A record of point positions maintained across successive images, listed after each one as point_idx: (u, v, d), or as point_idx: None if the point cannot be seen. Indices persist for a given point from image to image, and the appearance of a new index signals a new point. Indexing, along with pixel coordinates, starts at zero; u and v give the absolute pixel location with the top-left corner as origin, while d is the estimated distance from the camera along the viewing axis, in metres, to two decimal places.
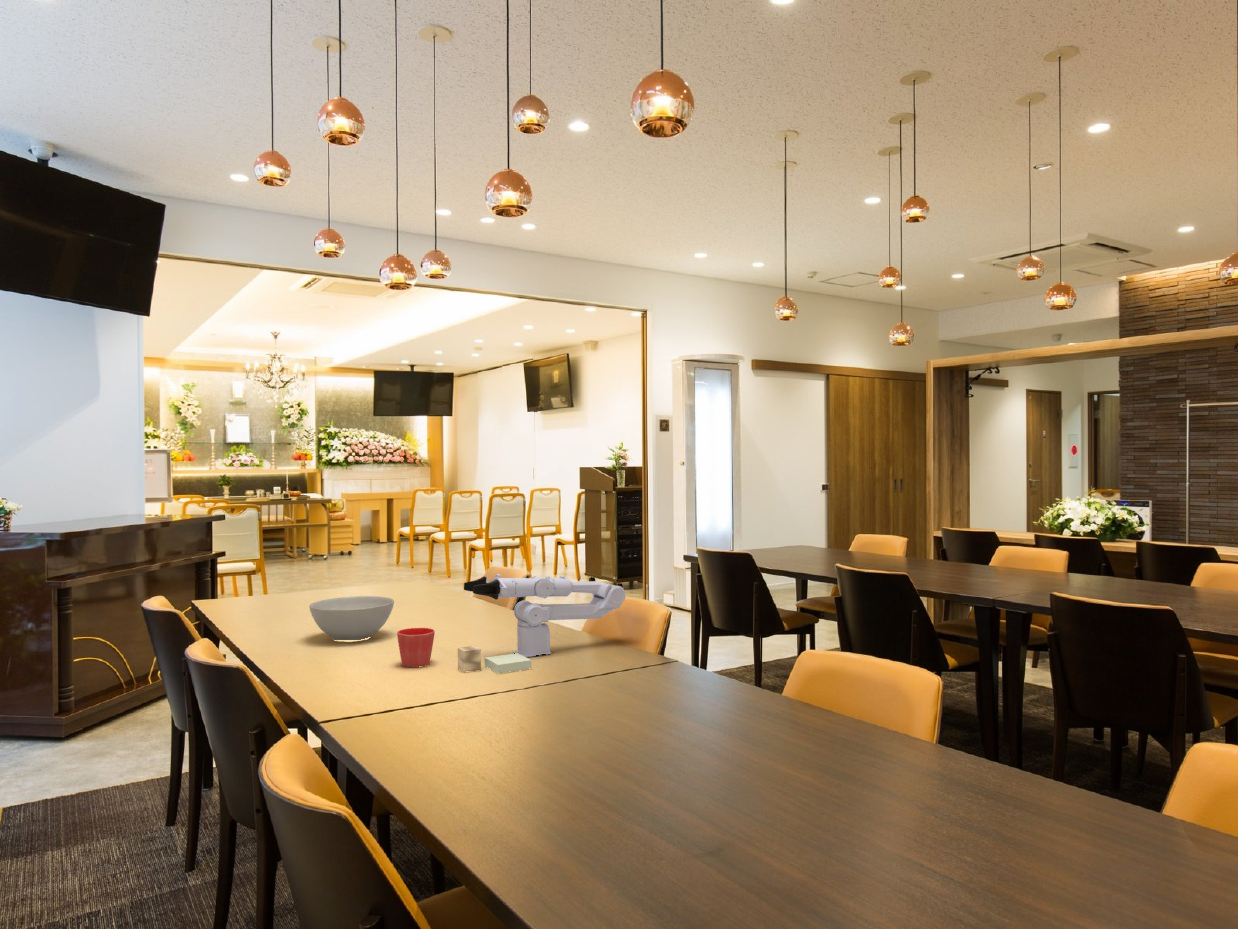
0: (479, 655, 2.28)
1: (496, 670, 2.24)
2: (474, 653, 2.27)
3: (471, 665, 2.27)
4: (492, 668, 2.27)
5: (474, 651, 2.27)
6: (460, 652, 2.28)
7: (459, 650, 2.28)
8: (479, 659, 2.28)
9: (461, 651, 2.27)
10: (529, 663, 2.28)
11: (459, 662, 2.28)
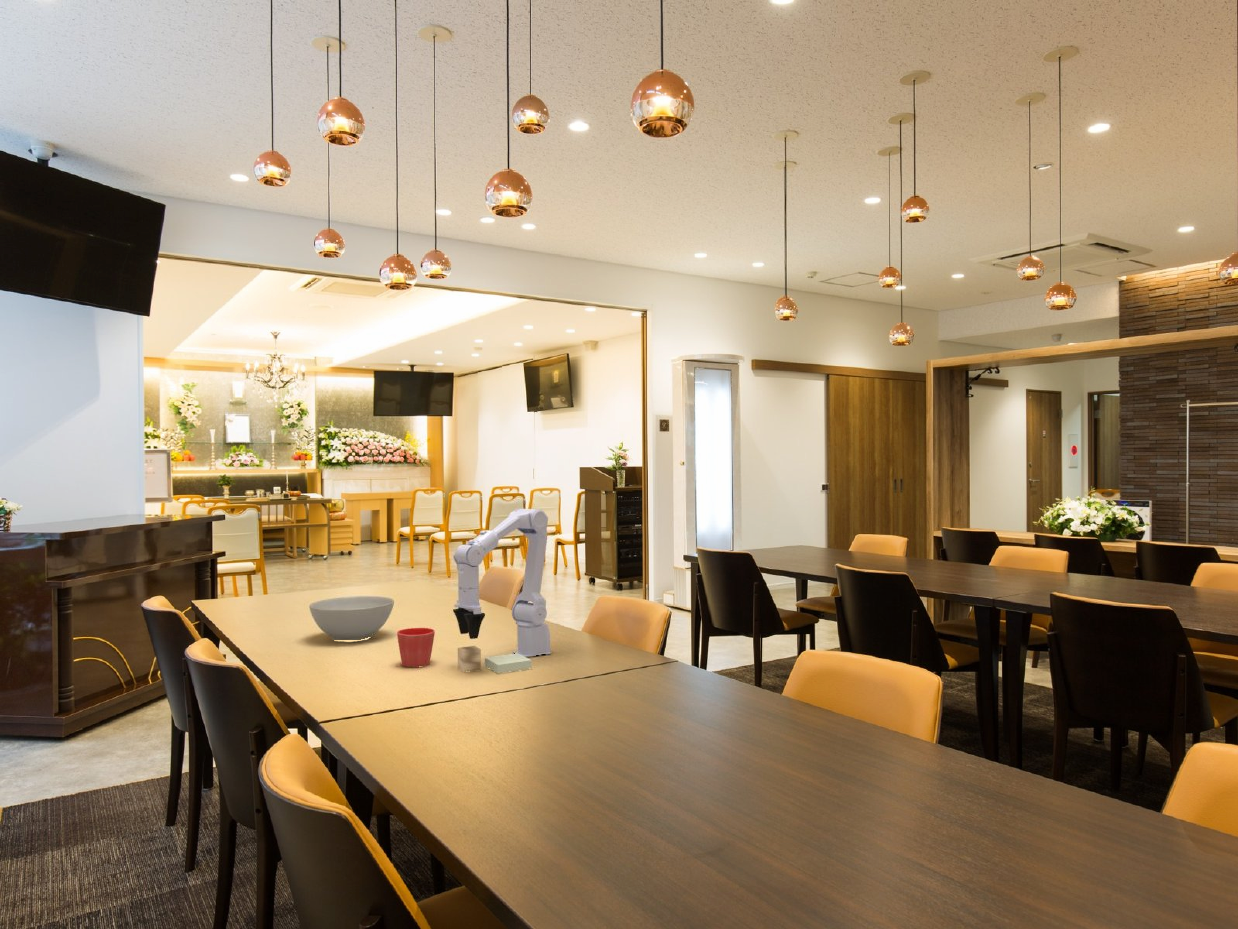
0: (479, 655, 2.28)
1: (496, 670, 2.24)
2: (474, 653, 2.27)
3: (471, 665, 2.27)
4: (492, 668, 2.27)
5: (474, 651, 2.27)
6: (460, 652, 2.28)
7: (459, 650, 2.28)
8: (479, 659, 2.28)
9: (461, 651, 2.27)
10: (529, 663, 2.28)
11: (459, 662, 2.28)
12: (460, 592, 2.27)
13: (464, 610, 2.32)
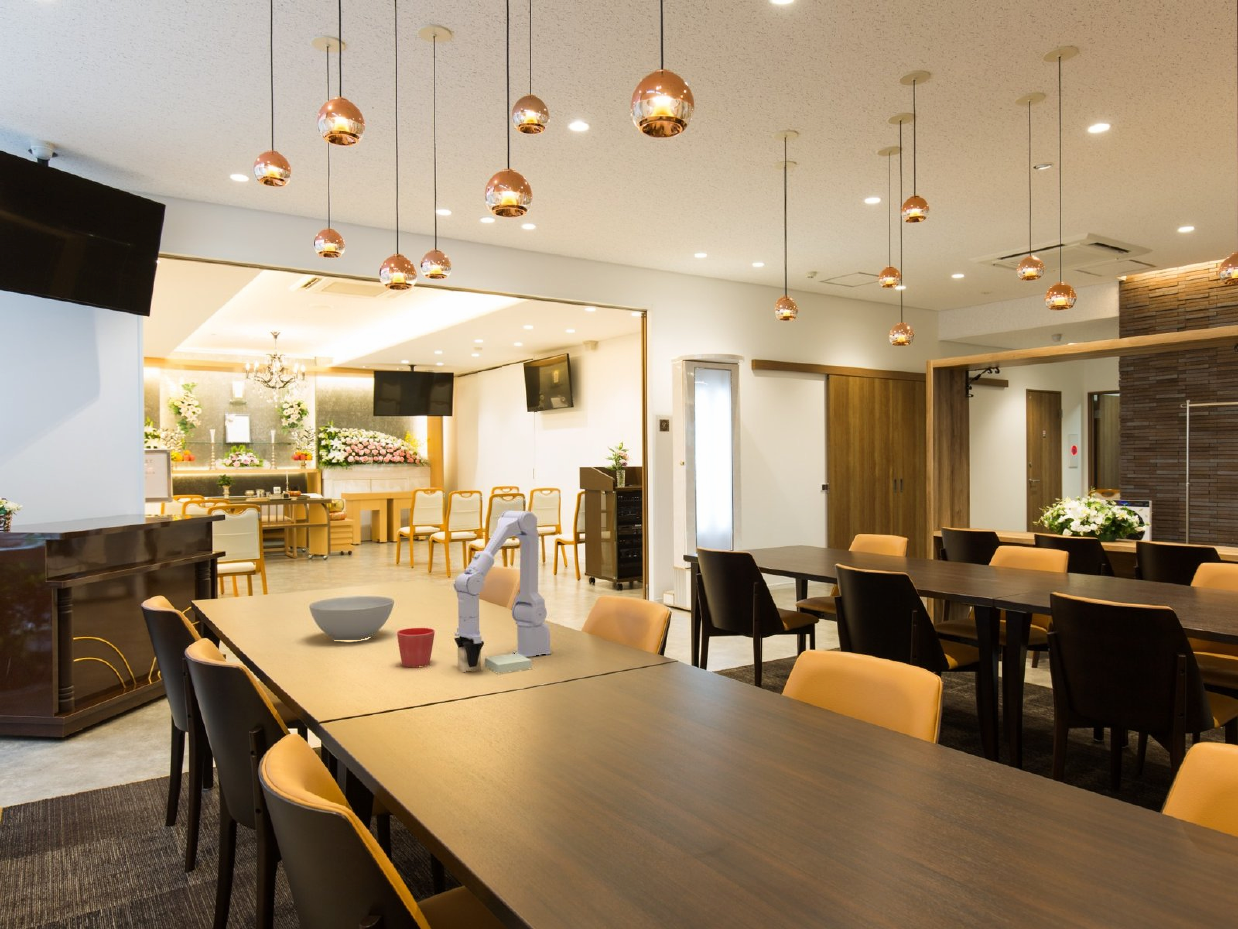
0: (479, 655, 2.28)
1: (496, 670, 2.24)
2: None
3: None
4: (492, 668, 2.27)
5: None
6: (460, 652, 2.28)
7: (459, 650, 2.28)
8: (479, 659, 2.28)
9: (461, 651, 2.27)
10: (529, 663, 2.28)
11: (459, 662, 2.28)
12: (460, 621, 2.27)
13: (465, 639, 2.31)
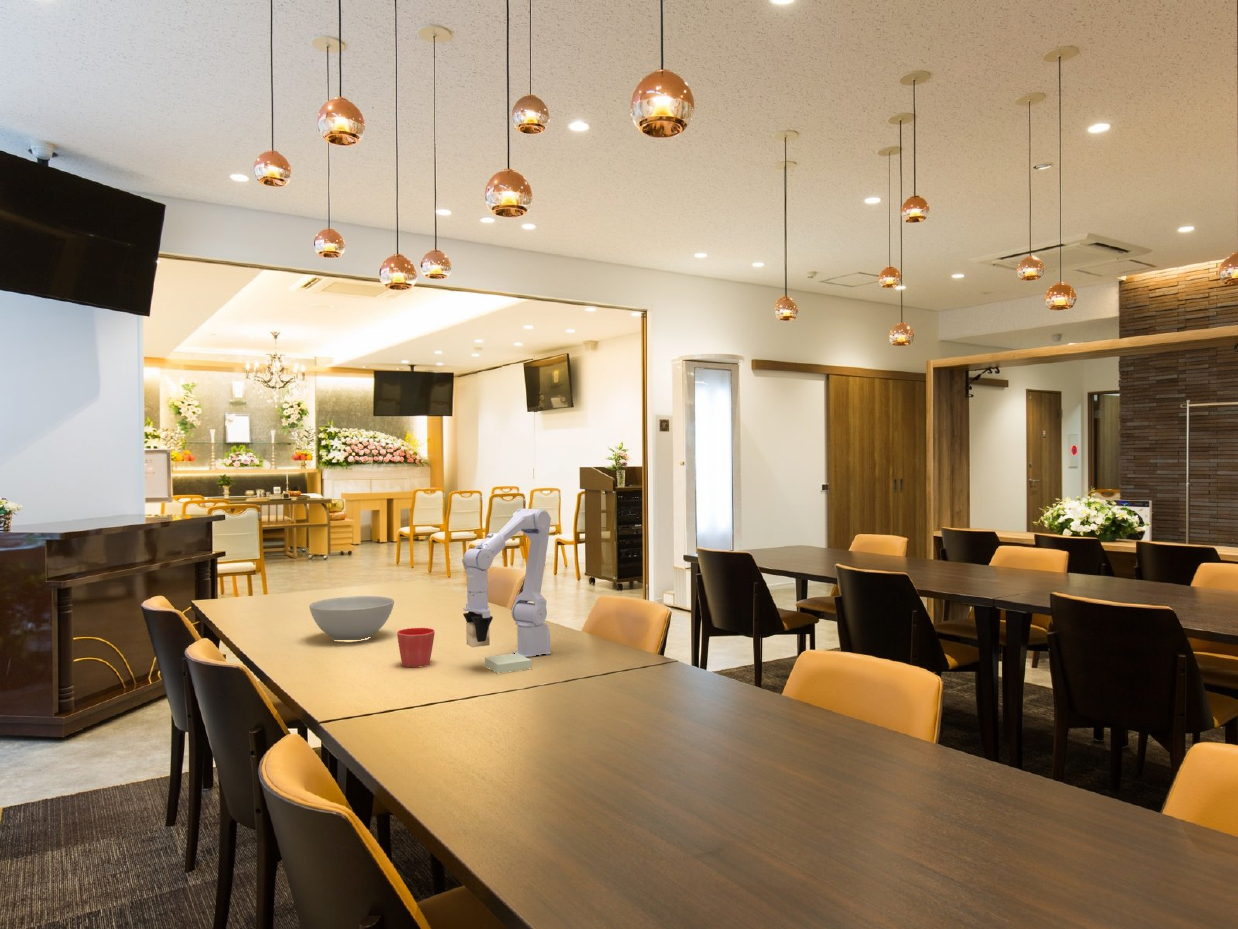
0: (488, 630, 2.28)
1: (496, 670, 2.24)
2: None
3: None
4: (492, 668, 2.27)
5: None
6: (469, 627, 2.28)
7: (468, 625, 2.29)
8: (488, 634, 2.28)
9: (470, 626, 2.27)
10: (529, 663, 2.28)
11: (468, 637, 2.29)
12: (469, 596, 2.27)
13: (474, 614, 2.32)
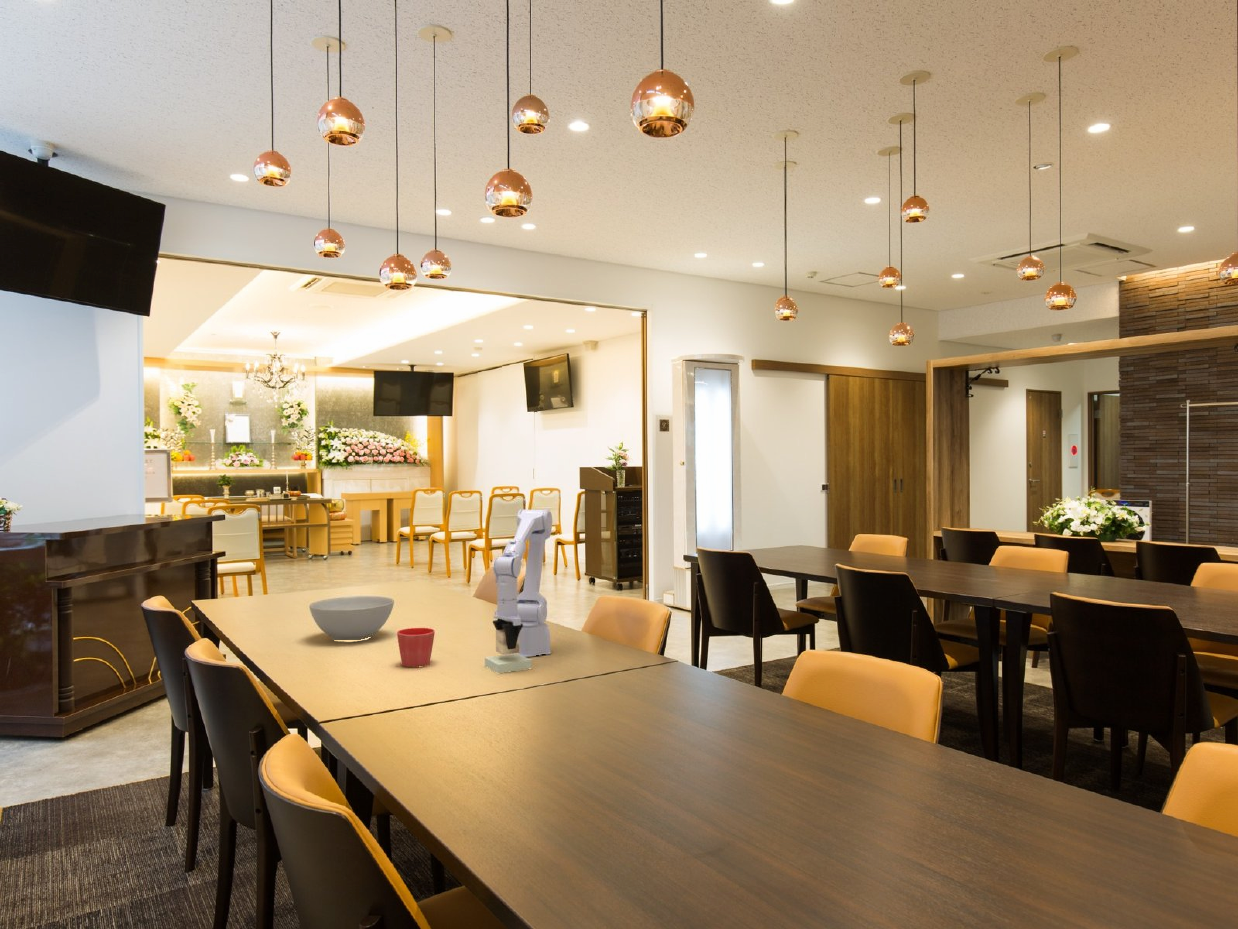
0: None
1: (496, 670, 2.24)
2: None
3: None
4: (492, 668, 2.27)
5: None
6: (498, 634, 2.29)
7: (497, 632, 2.30)
8: (517, 641, 2.29)
9: (500, 633, 2.28)
10: (529, 663, 2.28)
11: (497, 644, 2.30)
12: (499, 603, 2.28)
13: (504, 622, 2.33)
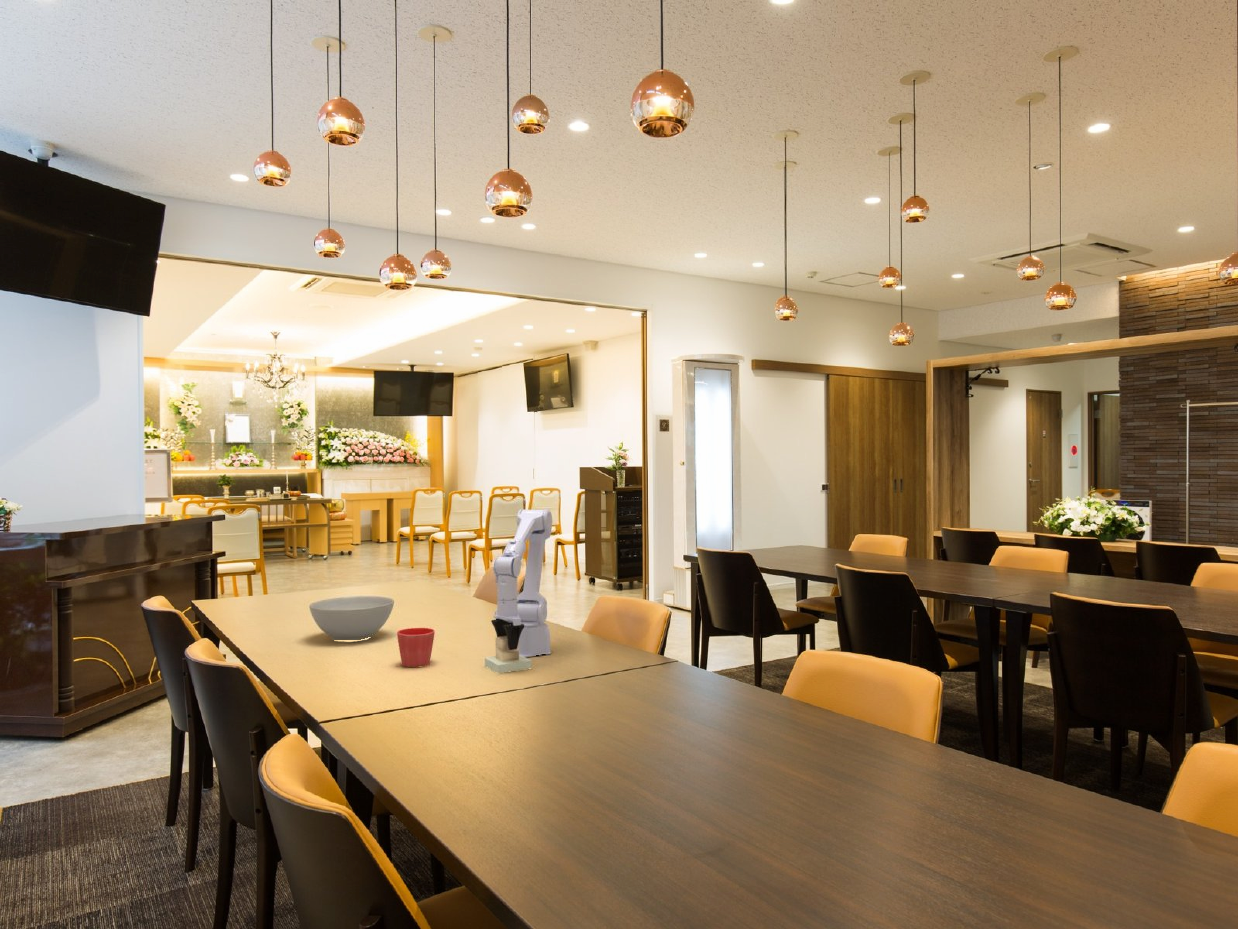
0: None
1: (496, 670, 2.24)
2: None
3: (509, 654, 2.28)
4: (492, 668, 2.27)
5: None
6: (498, 641, 2.29)
7: (497, 639, 2.30)
8: (517, 648, 2.29)
9: (499, 640, 2.29)
10: (529, 663, 2.28)
11: (497, 651, 2.30)
12: (499, 603, 2.28)
13: (502, 621, 2.34)
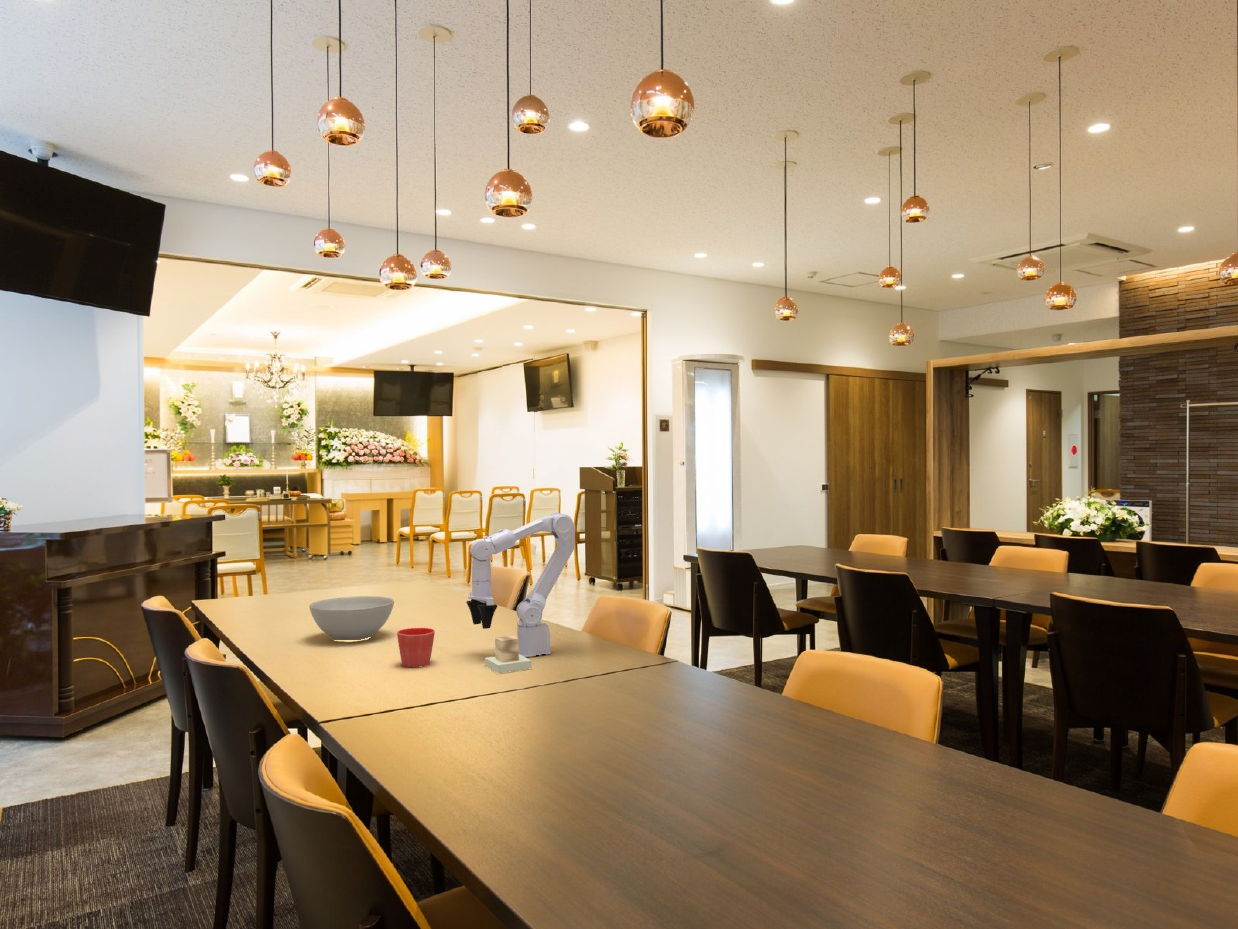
0: (517, 645, 2.29)
1: (496, 670, 2.24)
2: (512, 642, 2.28)
3: (509, 654, 2.28)
4: (492, 668, 2.27)
5: (512, 641, 2.28)
6: (498, 642, 2.29)
7: (497, 640, 2.30)
8: (517, 649, 2.29)
9: (499, 641, 2.28)
10: (529, 663, 2.28)
11: (497, 652, 2.30)
12: (473, 585, 2.40)
13: (477, 602, 2.46)
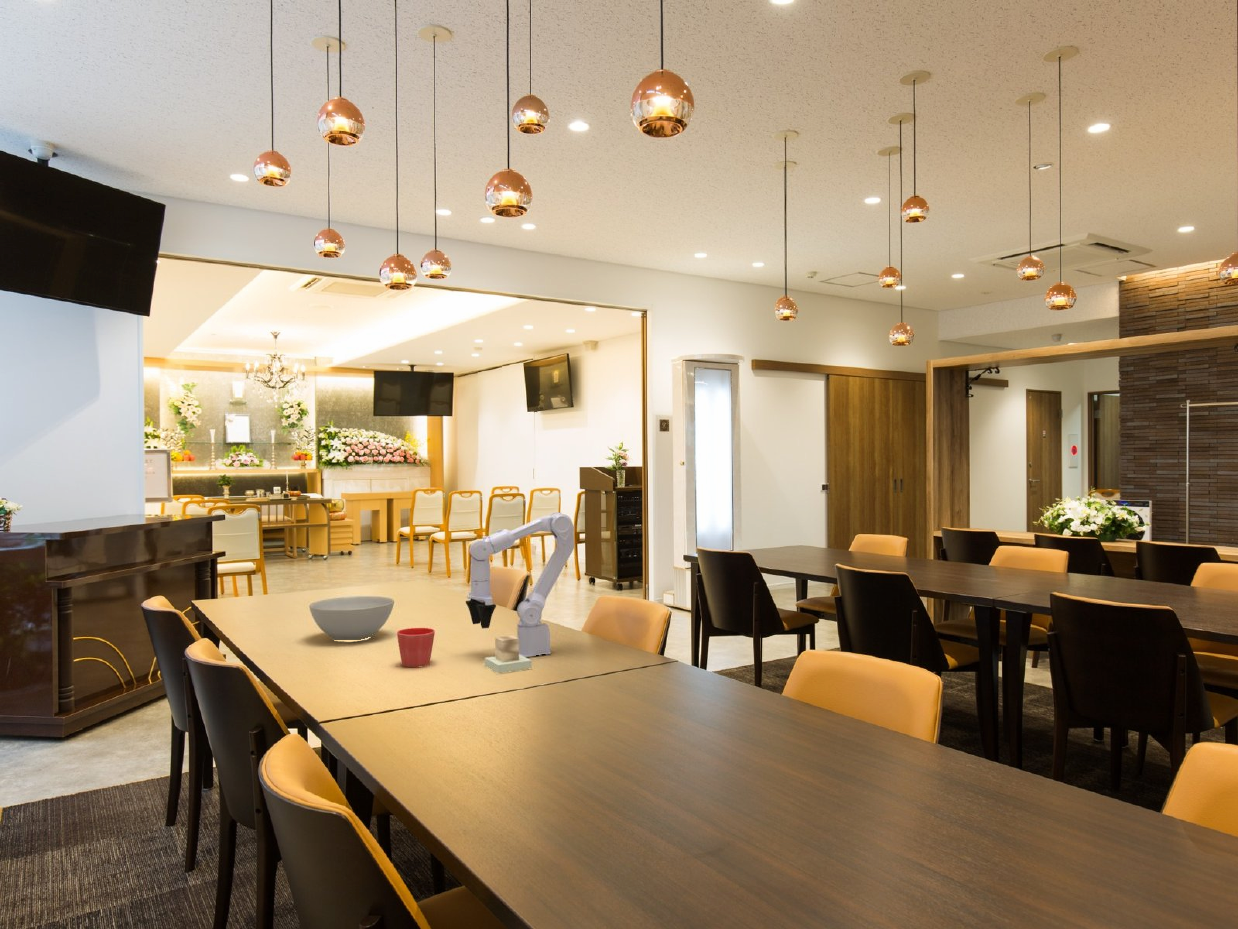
0: (517, 644, 2.29)
1: (496, 670, 2.24)
2: (512, 642, 2.28)
3: (510, 654, 2.28)
4: (492, 668, 2.27)
5: (512, 640, 2.28)
6: (498, 642, 2.29)
7: (497, 640, 2.30)
8: (517, 648, 2.29)
9: (499, 641, 2.28)
10: (529, 663, 2.28)
11: (497, 652, 2.30)
12: (472, 584, 2.41)
13: (476, 601, 2.46)
